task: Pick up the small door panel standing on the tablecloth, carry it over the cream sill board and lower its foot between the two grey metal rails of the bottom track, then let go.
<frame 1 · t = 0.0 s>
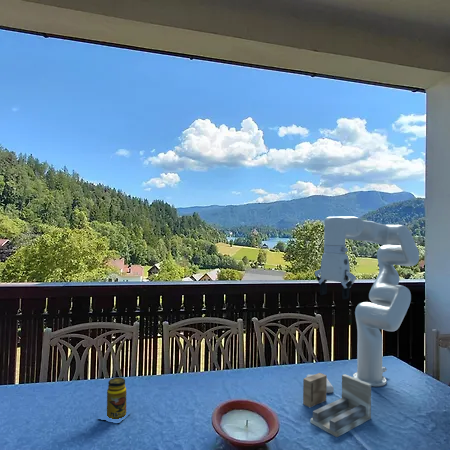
hand: (334, 296, 135), 37 cm above the table, fingers open, 9 cm apart
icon: (317, 387, 143), on the table
track: (341, 420, 118), on the table
condiment: (114, 417, 119), on the table
door: (314, 402, 130), on the table
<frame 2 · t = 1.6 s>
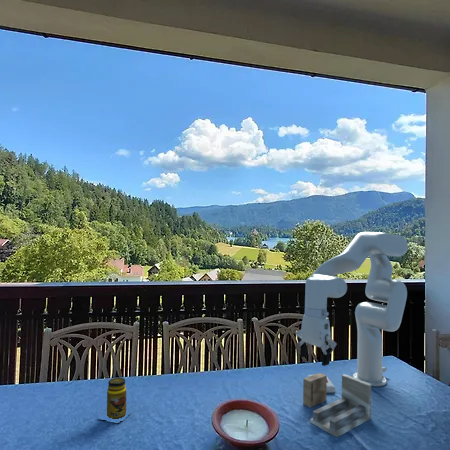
hand: (314, 360, 130), 15 cm above the table, fingers open, 9 cm apart
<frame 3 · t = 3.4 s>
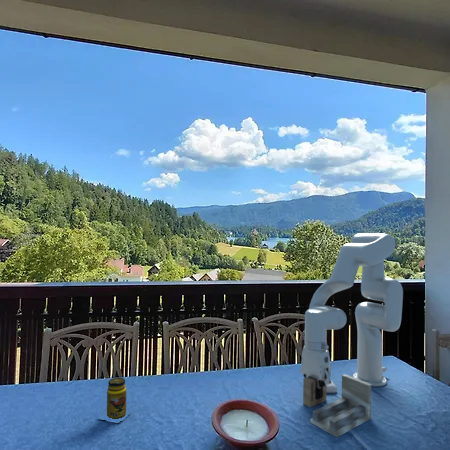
hand: (314, 395, 130), 2 cm above the table, fingers closed on door, 3 cm apart
door: (314, 402, 130), on the table, touching gripper
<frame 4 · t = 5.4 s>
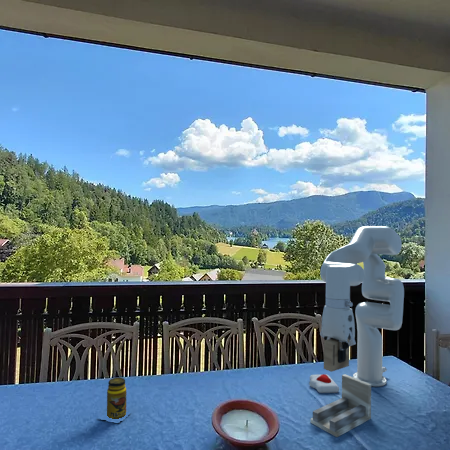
hand: (336, 359, 118), 19 cm above the table, fingers closed on door, 3 cm apart
door: (336, 367, 118), point 17 cm above the table, touching gripper
when the fingers open (5 cm above the table, at t = 7.6 s): door stays where it is, resting on track.
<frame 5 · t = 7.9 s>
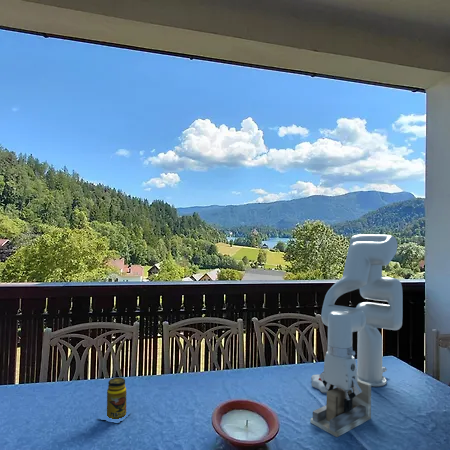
hand: (339, 406, 117), 5 cm above the table, fingers open, 5 cm apart
door: (338, 417, 117), point 1 cm above the table, touching track
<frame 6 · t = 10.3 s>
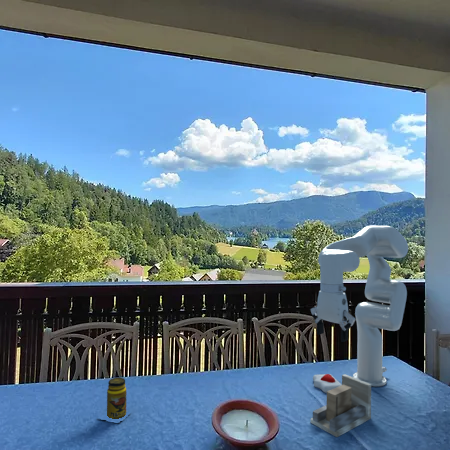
hand: (332, 337, 127), 24 cm above the table, fingers open, 9 cm apart
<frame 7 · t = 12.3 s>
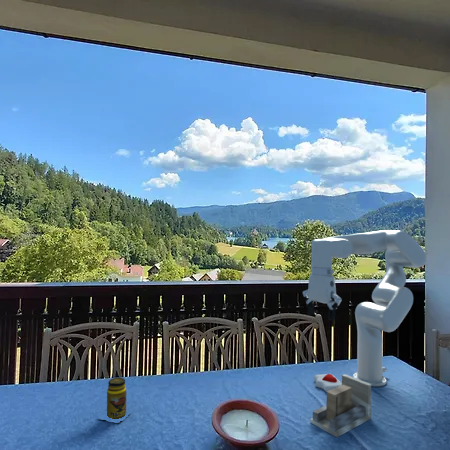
hand: (321, 317, 138), 28 cm above the table, fingers open, 9 cm apart
at the end: door 0.3 cm off-centre on the track, point 1.2 cm above the track's base; door tilted 0°; the gripper is holding nothing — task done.
